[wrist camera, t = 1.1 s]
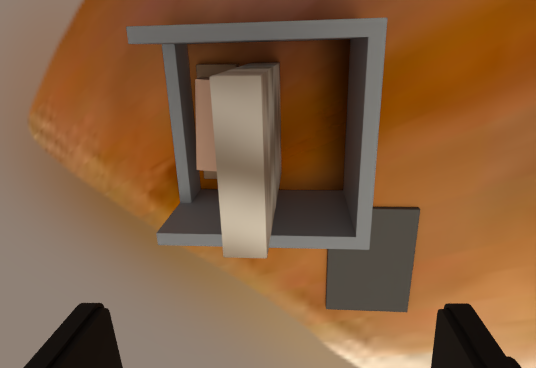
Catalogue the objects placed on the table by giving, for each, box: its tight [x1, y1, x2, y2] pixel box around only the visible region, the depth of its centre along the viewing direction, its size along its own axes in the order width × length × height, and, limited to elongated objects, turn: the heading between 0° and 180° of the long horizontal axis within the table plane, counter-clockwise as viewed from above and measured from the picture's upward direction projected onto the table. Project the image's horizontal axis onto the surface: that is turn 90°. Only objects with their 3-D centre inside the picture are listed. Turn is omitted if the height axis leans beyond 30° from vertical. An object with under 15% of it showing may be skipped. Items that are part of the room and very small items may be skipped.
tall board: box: [209, 62, 281, 258], centre depth 32 cm, size 12×3×18 cm, turn 2°
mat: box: [326, 207, 420, 312], centre depth 45 cm, size 14×10×1 cm
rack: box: [126, 18, 387, 250], centre depth 35 cm, size 18×19×11 cm
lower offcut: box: [196, 64, 239, 179], centre depth 40 cm, size 12×4×2 cm, turn 0°
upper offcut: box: [195, 77, 217, 171], centre depth 38 cm, size 9×4×2 cm, turn 177°
